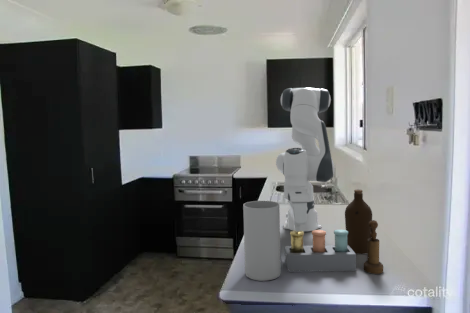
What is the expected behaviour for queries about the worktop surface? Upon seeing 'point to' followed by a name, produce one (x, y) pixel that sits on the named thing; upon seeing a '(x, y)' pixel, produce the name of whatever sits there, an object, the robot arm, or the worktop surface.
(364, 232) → the olive oil
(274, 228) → the cylinder vase
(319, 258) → the grey plug holder block
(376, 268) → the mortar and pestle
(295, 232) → the plug
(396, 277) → the worktop surface
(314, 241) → the plug
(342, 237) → the plug
